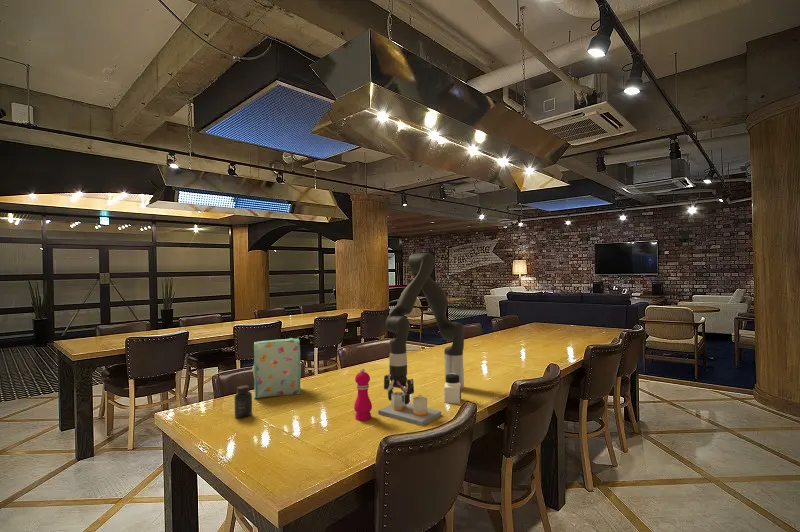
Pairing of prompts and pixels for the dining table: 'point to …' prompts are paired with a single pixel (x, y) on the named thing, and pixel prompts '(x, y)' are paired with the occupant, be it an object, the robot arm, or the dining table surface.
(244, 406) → the supplement bottle
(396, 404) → the sleeve
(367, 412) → the pepper mill
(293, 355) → the lunch bag
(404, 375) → the robot arm
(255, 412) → the dining table surface
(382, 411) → the pin board
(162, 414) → the dining table surface
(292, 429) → the dining table surface
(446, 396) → the medicine bottle
